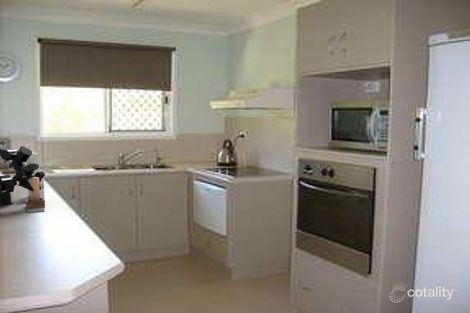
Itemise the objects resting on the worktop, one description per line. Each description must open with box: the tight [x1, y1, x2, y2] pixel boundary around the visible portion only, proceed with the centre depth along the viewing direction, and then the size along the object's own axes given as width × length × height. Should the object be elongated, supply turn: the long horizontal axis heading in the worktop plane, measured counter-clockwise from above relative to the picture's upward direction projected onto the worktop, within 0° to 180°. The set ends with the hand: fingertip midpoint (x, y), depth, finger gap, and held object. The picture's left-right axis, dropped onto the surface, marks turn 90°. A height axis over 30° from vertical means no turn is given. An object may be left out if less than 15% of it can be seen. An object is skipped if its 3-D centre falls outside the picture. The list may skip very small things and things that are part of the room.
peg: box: [30, 177, 40, 201], centre depth 249 cm, size 4×4×13 cm
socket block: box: [25, 197, 46, 210], centre depth 249 cm, size 9×9×4 cm
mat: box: [26, 208, 45, 214], centre depth 239 cm, size 8×8×1 cm
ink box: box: [27, 178, 45, 199], centre depth 273 cm, size 9×5×12 cm, turn 168°
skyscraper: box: [25, 149, 41, 198], centre depth 284 cm, size 8×8×28 cm
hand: (36, 190), depth 248 cm, fingers closed on peg, 4 cm apart
